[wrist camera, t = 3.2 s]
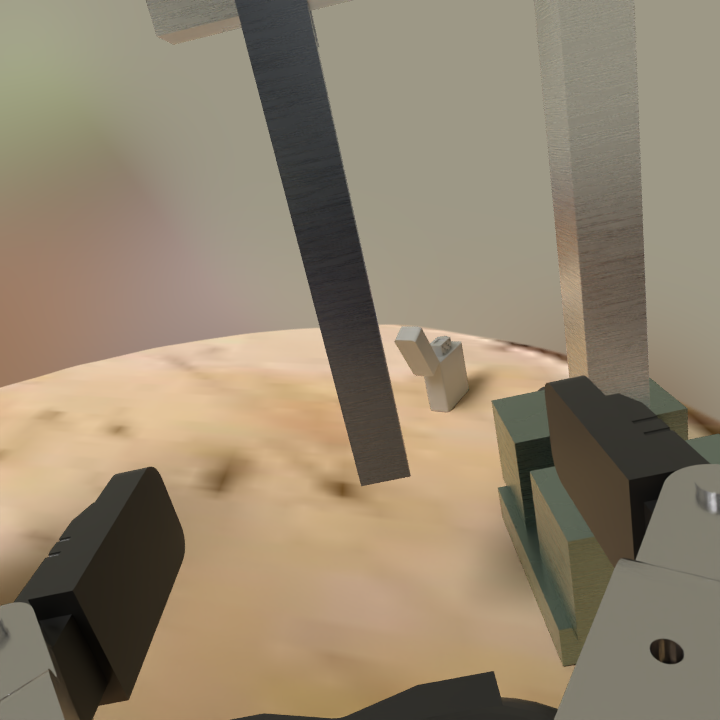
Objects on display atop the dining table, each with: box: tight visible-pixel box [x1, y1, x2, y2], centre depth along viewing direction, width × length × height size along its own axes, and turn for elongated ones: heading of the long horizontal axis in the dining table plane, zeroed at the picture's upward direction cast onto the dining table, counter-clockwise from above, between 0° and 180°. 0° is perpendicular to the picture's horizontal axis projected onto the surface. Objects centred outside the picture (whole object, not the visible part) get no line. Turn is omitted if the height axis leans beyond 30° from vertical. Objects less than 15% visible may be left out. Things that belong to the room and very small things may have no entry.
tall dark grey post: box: [235, 0, 410, 486], centre depth 22 cm, size 6×2×20 cm, turn 1°
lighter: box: [395, 327, 469, 412], centre depth 46 cm, size 7×2×8 cm, turn 147°
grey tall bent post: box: [146, 0, 720, 666], centre depth 26 cm, size 16×18×28 cm
